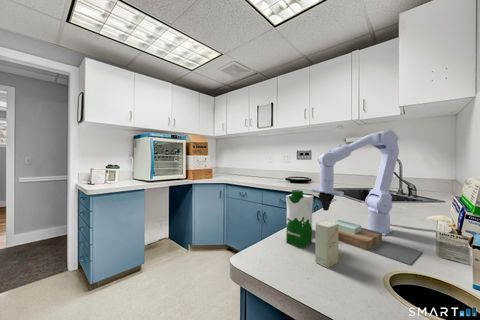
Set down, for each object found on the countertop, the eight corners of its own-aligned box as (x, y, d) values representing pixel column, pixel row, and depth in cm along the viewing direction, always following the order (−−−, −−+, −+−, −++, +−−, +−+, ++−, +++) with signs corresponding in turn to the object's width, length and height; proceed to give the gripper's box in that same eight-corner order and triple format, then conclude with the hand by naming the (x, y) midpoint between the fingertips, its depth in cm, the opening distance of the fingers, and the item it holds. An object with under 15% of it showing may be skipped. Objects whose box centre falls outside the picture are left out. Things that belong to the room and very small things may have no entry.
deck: (341, 228, 92) (341, 222, 92) (381, 240, 79) (382, 233, 79) (324, 235, 84) (324, 228, 84) (366, 250, 71) (366, 241, 71)
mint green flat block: (339, 224, 89) (339, 219, 89) (361, 230, 82) (361, 225, 82) (331, 227, 85) (332, 222, 85) (354, 233, 78) (354, 228, 78)
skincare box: (327, 268, 59) (328, 227, 59) (314, 262, 63) (314, 223, 63) (338, 262, 63) (339, 223, 63) (325, 256, 67) (326, 219, 66)
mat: (384, 241, 79) (384, 240, 79) (422, 252, 70) (422, 251, 70) (369, 251, 70) (369, 250, 70) (410, 265, 61) (410, 264, 61)
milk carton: (282, 242, 77) (283, 190, 76) (294, 236, 83) (295, 187, 83) (304, 250, 71) (305, 193, 70) (315, 242, 77) (316, 190, 77)
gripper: (307, 178, 94) (306, 207, 94) (337, 182, 82) (337, 215, 83) (315, 177, 98) (315, 205, 98) (346, 181, 86) (345, 212, 87)
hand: (325, 210), depth 91 cm, fingers closed
